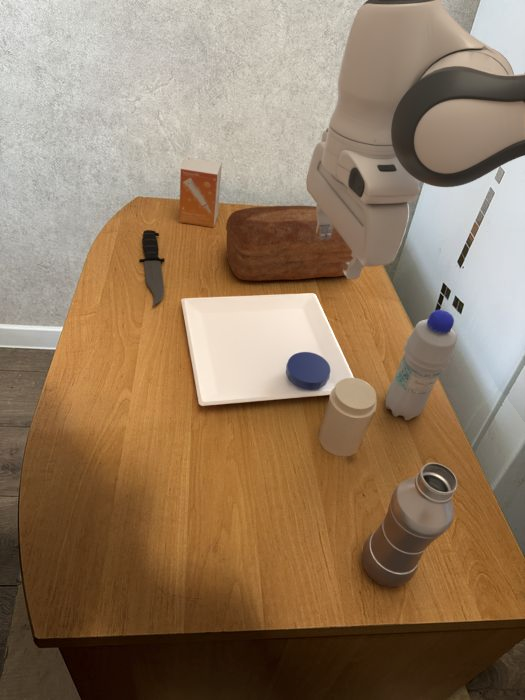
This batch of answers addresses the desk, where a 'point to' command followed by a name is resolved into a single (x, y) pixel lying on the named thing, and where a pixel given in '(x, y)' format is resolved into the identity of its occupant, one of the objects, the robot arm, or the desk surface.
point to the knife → (152, 265)
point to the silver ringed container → (410, 525)
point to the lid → (308, 370)
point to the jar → (347, 416)
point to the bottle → (421, 364)
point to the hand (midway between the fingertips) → (336, 255)
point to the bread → (282, 245)
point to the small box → (199, 191)
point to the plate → (257, 346)
